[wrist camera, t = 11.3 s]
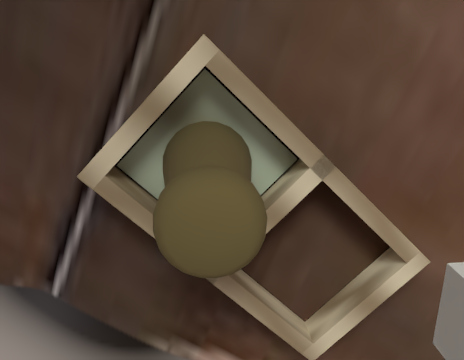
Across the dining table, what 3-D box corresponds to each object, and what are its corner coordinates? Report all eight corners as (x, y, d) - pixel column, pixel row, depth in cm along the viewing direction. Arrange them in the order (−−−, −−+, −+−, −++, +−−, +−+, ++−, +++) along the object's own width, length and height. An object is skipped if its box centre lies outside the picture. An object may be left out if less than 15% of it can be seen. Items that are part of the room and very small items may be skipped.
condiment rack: (304, 339, 33) (312, 362, 30) (87, 165, 27) (76, 176, 25) (412, 245, 31) (430, 261, 28) (203, 35, 25) (203, 34, 23)
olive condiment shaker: (185, 219, 28) (176, 320, 18) (146, 143, 26) (110, 206, 16) (265, 186, 28) (302, 269, 18) (230, 105, 26) (250, 145, 16)
